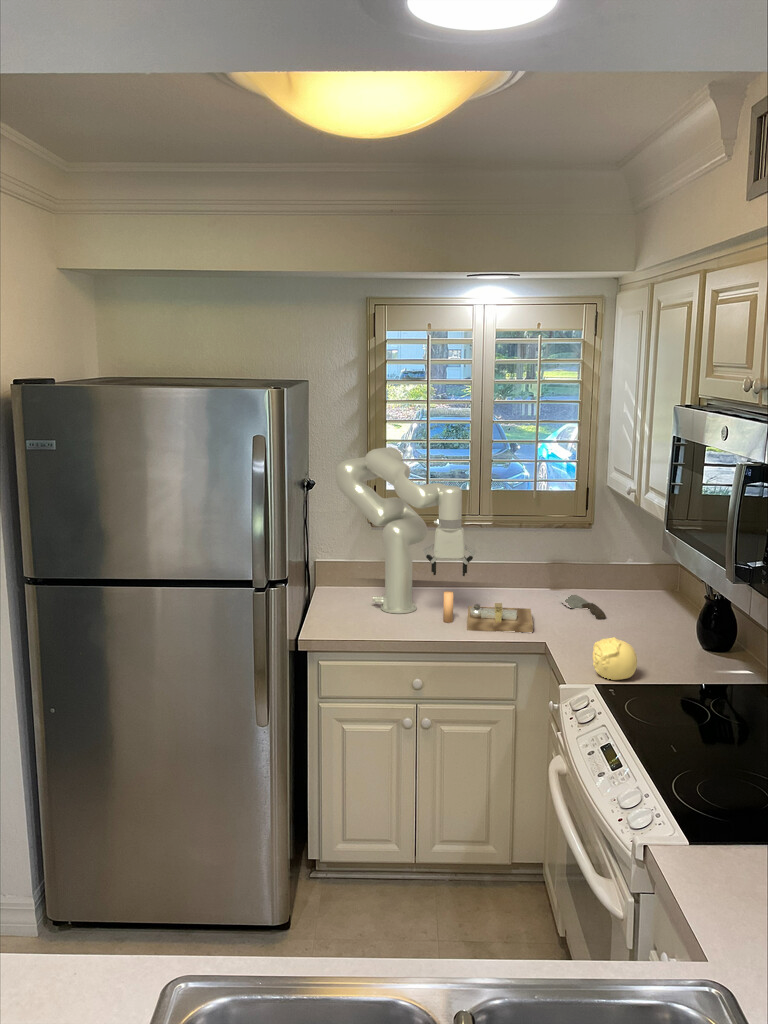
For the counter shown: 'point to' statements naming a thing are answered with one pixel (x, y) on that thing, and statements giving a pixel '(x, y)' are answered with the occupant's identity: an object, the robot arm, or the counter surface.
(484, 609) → the latch bar
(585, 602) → the cleaver
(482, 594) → the counter surface
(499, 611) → the keeper
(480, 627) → the base plate
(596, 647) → the sculpture
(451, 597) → the lock pin
